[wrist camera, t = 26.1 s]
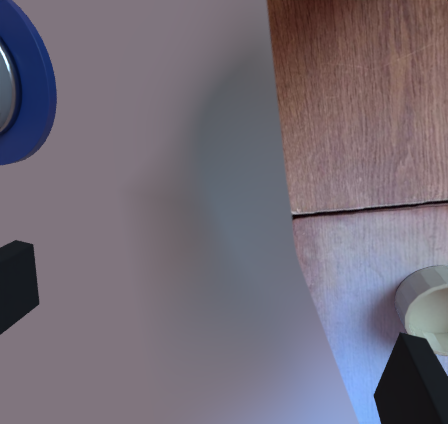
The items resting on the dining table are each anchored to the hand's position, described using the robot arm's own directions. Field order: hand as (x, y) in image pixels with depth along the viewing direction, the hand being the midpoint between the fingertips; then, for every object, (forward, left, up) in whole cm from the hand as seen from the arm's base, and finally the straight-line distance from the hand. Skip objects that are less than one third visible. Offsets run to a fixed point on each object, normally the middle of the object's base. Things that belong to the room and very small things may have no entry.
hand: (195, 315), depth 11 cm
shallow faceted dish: (+24, -13, -29) cm, 40 cm away
